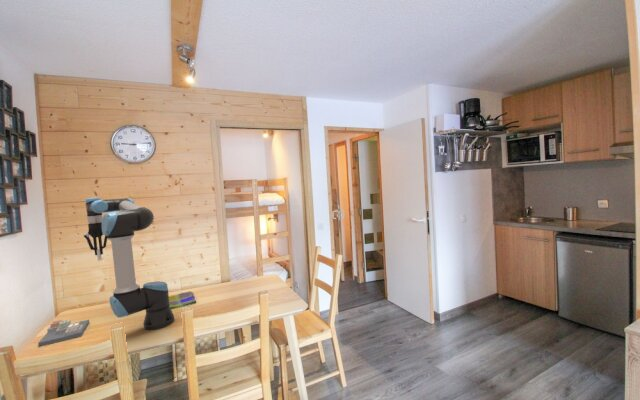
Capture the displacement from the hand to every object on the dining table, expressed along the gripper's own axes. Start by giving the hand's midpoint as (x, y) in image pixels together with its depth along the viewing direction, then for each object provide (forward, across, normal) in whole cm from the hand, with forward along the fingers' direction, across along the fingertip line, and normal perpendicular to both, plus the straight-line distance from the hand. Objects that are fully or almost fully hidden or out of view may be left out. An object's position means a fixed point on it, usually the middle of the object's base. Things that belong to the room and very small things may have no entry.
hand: (99, 260), depth 184 cm
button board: (+34, +15, +20) cm, 43 cm away
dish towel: (+35, -42, +9) cm, 56 cm away
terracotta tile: (+32, +20, +14) cm, 40 cm away
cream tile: (+32, +10, +26) cm, 42 cm away
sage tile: (+31, +15, +20) cm, 40 cm away
